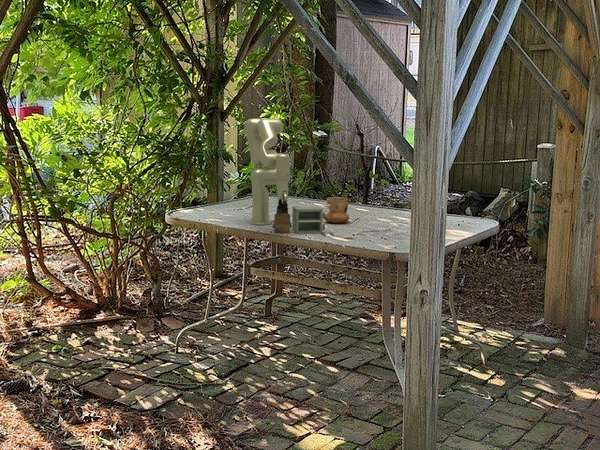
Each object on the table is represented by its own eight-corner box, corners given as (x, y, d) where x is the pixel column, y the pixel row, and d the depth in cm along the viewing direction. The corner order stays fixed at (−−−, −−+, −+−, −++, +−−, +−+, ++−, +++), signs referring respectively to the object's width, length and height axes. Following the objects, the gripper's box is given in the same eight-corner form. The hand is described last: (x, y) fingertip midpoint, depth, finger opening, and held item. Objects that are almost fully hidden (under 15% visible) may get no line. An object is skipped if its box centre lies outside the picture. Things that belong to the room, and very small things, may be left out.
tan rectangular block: (274, 232, 408) (274, 213, 407) (289, 232, 410) (289, 213, 408) (275, 233, 405) (275, 215, 403) (290, 233, 406) (290, 214, 404)
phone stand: (280, 229, 419) (280, 207, 417) (272, 227, 423) (272, 206, 422) (291, 227, 426) (292, 206, 424) (284, 226, 430) (284, 204, 428)
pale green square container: (292, 230, 417) (292, 206, 415) (324, 229, 420) (324, 205, 418) (300, 236, 395) (300, 212, 393) (333, 236, 399) (334, 211, 397)
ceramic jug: (336, 225, 434) (336, 200, 431) (317, 222, 443) (318, 198, 441) (356, 222, 446) (357, 198, 444) (338, 219, 456) (338, 196, 454)
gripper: (273, 176, 410) (273, 208, 413) (278, 179, 394) (278, 212, 396) (286, 176, 412) (286, 208, 414) (292, 178, 395) (292, 211, 397)
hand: (282, 210), depth 405 cm, fingers open, 9 cm apart
